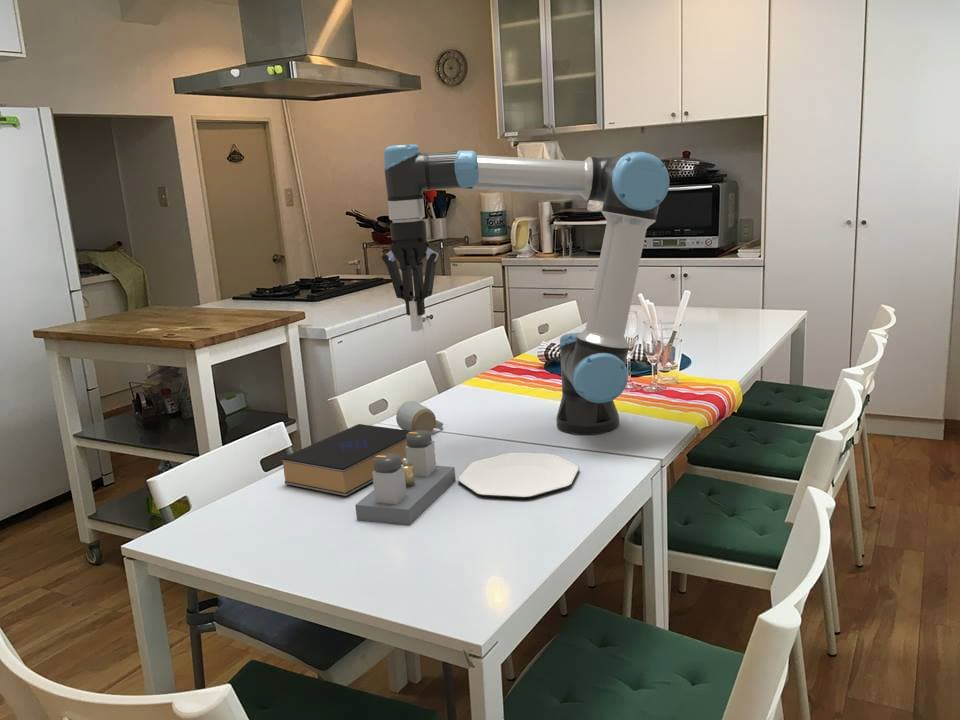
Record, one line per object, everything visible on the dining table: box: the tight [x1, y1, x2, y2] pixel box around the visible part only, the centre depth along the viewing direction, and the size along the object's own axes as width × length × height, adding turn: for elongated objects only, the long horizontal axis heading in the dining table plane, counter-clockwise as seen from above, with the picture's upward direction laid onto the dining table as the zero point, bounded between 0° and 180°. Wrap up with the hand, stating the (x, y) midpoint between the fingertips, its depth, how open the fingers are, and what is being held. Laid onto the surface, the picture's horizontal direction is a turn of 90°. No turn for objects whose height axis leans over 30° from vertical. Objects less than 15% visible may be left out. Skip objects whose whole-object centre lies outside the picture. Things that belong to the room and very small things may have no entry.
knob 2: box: [406, 430, 432, 447], centre depth 164 cm, size 5×5×8 cm
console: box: [354, 441, 456, 526], centre depth 159 cm, size 11×22×9 cm, turn 159°
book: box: [281, 423, 412, 497], centre depth 177 cm, size 17×25×7 cm
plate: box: [457, 452, 580, 499], centre depth 167 cm, size 24×24×2 cm
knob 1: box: [374, 453, 401, 473], centre depth 152 cm, size 5×5×8 cm
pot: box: [401, 458, 415, 488], centre depth 158 cm, size 3×3×6 cm
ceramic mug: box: [395, 400, 444, 433], centre depth 201 cm, size 11×8×8 cm
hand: (417, 329), depth 176 cm, fingers closed
